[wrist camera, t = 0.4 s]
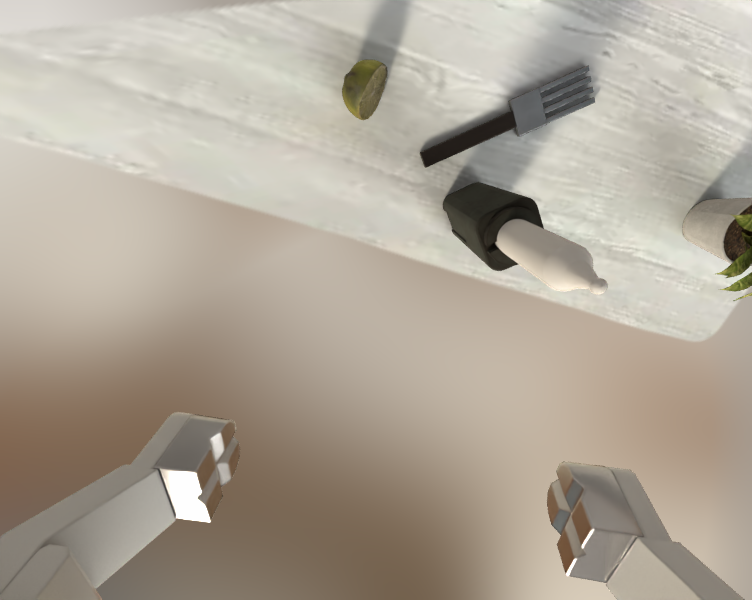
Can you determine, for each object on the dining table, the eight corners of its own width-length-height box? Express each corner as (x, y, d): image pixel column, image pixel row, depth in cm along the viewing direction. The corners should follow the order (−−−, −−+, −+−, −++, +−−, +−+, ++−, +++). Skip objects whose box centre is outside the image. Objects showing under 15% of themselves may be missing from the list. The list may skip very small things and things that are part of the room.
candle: (497, 221, 43) (660, 310, 20) (455, 240, 44) (566, 348, 20) (483, 178, 41) (645, 222, 18) (439, 199, 42) (541, 266, 19)
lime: (384, 62, 37) (388, 50, 32) (390, 117, 38) (395, 113, 34) (338, 68, 37) (336, 57, 32) (347, 123, 38) (345, 120, 34)
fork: (415, 143, 39) (416, 143, 39) (585, 65, 38) (588, 64, 37) (427, 176, 41) (428, 176, 40) (592, 103, 39) (595, 102, 38)
